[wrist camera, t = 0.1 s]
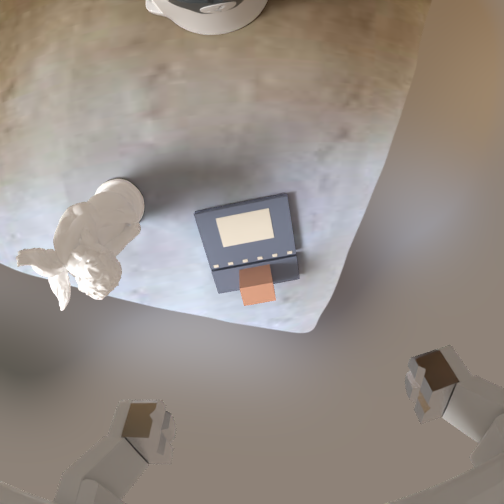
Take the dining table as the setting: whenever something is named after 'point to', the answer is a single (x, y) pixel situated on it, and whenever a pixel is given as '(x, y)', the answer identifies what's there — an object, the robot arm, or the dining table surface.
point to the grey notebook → (246, 231)
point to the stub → (256, 278)
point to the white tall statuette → (90, 242)
